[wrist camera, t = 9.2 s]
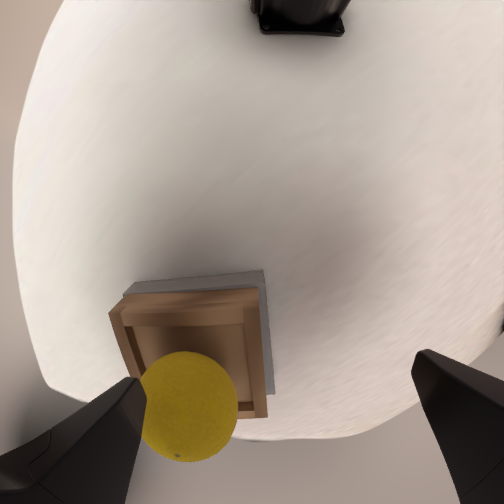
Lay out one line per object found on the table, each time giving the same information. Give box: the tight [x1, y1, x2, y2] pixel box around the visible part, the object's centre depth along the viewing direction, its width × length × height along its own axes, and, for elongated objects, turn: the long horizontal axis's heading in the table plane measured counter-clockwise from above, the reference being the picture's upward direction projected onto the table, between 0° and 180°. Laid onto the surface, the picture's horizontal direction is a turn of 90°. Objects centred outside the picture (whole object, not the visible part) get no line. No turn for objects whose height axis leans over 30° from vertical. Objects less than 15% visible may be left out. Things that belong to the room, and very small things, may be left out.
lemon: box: [140, 351, 238, 462], centre depth 12 cm, size 6×6×8 cm
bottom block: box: [123, 270, 275, 395], centre depth 20 cm, size 10×10×3 cm
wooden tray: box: [108, 287, 268, 419], centre depth 17 cm, size 9×9×3 cm
